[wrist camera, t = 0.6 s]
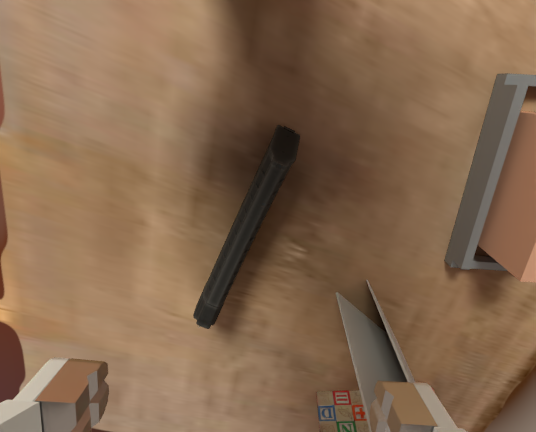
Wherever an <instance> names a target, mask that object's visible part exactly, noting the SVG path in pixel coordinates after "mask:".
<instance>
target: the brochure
mask: <svg viewBox="0 0 536 432" xmlns="http://www.w3.org/2000/svg"><path fill="white" fill-rule="evenodd" d="M366 282H367V284H368V287H369V289H370V291H371V294H372V296H373V299H374V301H375V304H376V306H377V309H378V311H379V313H380V316H381V318H382V321H383V323H384V326H385V328H386V330H387V333H388V334H387V333H386V332H385V331H383V330H382V329H381V328H380V327H379V326H378V325H376V324H375V323H374V322H373V321H372V320H370V319H369V318H368V317H367V316H366V315H364V314H363V313H362V312H361V311H360V310H358V309H357V308H356V307H355V306H354V305H352V304H351V303H350V302H349V301H348V300H346V299H345V298H344V297H343V296H342V295H341V294H339V293H338V292H336V296H337V300H338V304H339V309H340V313H341V317H342V321H343V325H344V329H345V333H346V337H347V341H348V345H349V349H350V353H351V358H352V362H353V366H354V370H355V374H356V378H357V382H358V386H359V390H360V394H361V398H362V402H363V407H364V411H365V415H366V419H367V423H368V427H369V431H370V432H372V431H371V426H370V407H371V403H372V402H373V401H374V400H375V399H376V398H377V397H376V395H375V392H374V389H375V385H376V383H377V381H395V382H409V383H410V382H415V380H414V378H413V376H412V374H411V371H410V369H409V367H408V364H407V362H406V360H405V357H404V355H403V353H402V351H401V348H400V346H399V344H398V342H397V339H396V337H395V335H394V333H393V331H392V329H391V327H390V325H389V323H388V321H387V319H386V317H385V315H384V313H383V310H382V308H381V306H380V304H379V302H378V300H377V298H376V296H375V294H374V292H373V290H372V288H371V286H370V284H369V282H368V280H366Z"/></svg>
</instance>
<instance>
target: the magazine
mask: <svg viewBox="0 0 536 432" xmlns="http://www.w3.org/2000/svg"><path fill="white" fill-rule="evenodd" d="M299 139H300V135H299V134H297V133H295V131H293V130H291V129H289V128H287V127H285V126H284V127H282V126H280V125H277V128H276V130H275V133H274V136H273V138H272V140H271V143H270V145H269V147H268V149H267V151H266V153H265V156H264V158H263V160H262V162H261V164H260V166H259V169H258V171H257V173H256V175H255V177H254V179H253V182H252V184H251V186H250V188H249V190H248V193H247V195H246V197H245V199H244V201H243V203H242V206H241V208H240V210H239V212H238V214H237V217H236V219H235V221H234V223H233V225H232V228H231V230H230V232H229V234H228V237H227V239H226V241H225V243H224V245H223V248H222V250H221V252H220V254H219V257H218V259H217V261H216V263H215V266H214V268H213V270H212V272H211V275H210V277H209V279H208V281H207V283H206V285H205V287H204V290H203V292H202V294H201V297H200V299H199V301H198V303H197V306H196V309H195V312H194V318H195V319H197V323H196V324H197V325H198V328H199V327H200V326H201V327H204V328H207V329H209V328H210V326H211V325H213V324H215V321H216V319H217V317H218V315H219V313H220V311H221V308H222V306H223V304H224V301H225V299H226V297H227V295H228V292H229V290H230V288H231V286H232V284H233V282H234V280H235V277H236V275H237V273H238V272H239V269H240V267H241V265H242V263H243V261H244V258H245V256H246V254H247V252H248V251H249V248H250V246H251V244H252V242H253V240H254V238H255V236H256V234H257V232H258V230H259V228H260V226H261V224H262V222H263V220H264V218H265V216H266V214H267V212H268V210H269V208H270V206H271V204H272V202H273V200H274V198H275V196H276V194H277V192H278V190H279V188H280V186H281V184H282V182H283V180H284V179H285V176H286V174H287V173H288V171H289V169H290V167H291V165H292V164H293V163H294V161H295V159H296V155H297V150H298V144H299Z"/></svg>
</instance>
